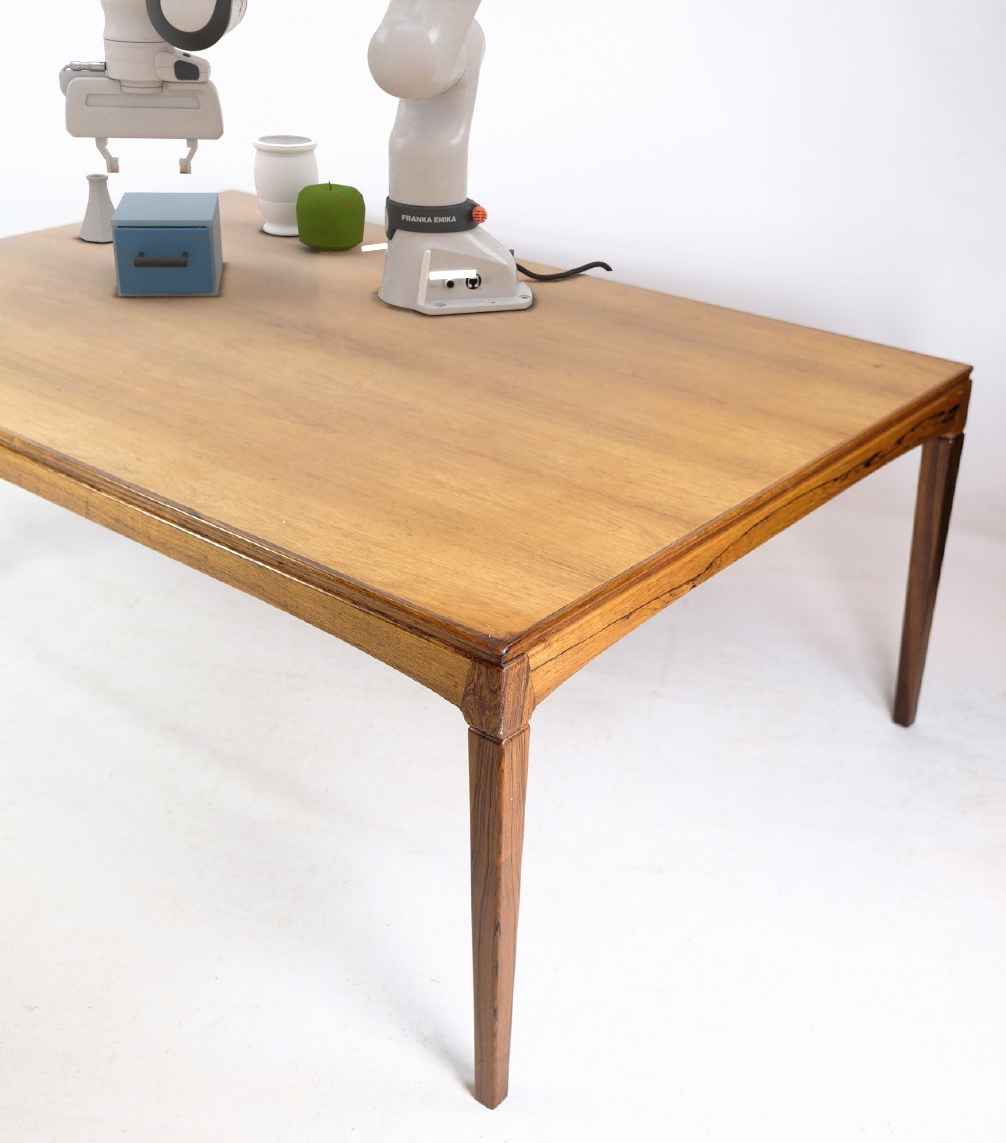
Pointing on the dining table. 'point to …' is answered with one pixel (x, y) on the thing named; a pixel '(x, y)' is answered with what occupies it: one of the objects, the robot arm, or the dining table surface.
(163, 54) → the robot arm
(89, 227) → the flask
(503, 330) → the dining table surface
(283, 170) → the jar
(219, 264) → the cabinet
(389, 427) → the dining table surface
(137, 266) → the drawer
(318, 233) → the apple
